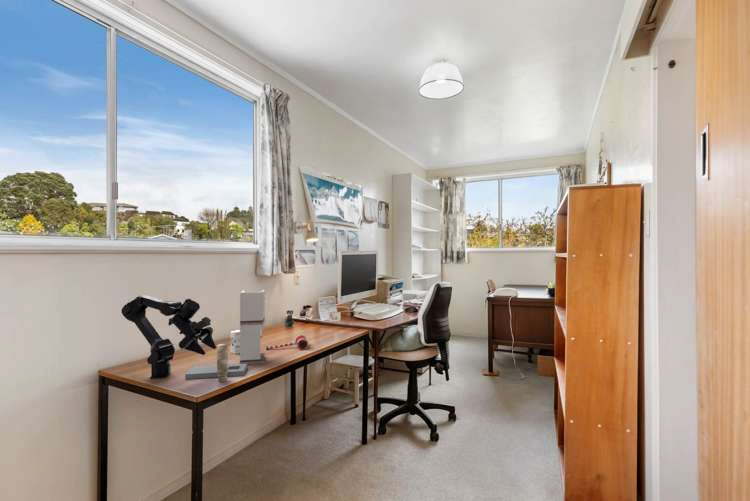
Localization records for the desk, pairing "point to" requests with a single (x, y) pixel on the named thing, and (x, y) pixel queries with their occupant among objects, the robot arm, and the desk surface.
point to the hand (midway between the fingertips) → (210, 351)
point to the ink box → (235, 342)
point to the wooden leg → (222, 361)
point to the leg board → (215, 371)
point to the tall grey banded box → (251, 326)
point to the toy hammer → (299, 341)
